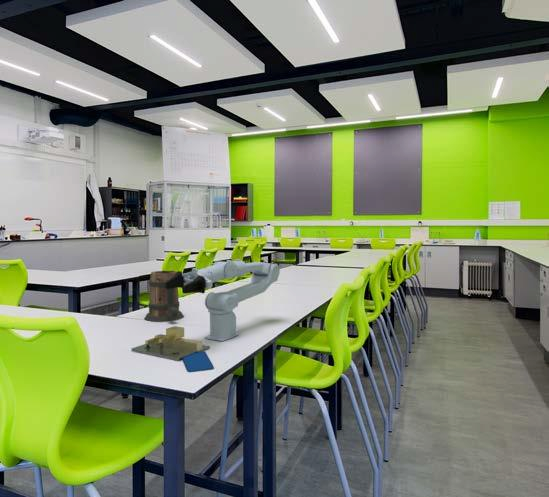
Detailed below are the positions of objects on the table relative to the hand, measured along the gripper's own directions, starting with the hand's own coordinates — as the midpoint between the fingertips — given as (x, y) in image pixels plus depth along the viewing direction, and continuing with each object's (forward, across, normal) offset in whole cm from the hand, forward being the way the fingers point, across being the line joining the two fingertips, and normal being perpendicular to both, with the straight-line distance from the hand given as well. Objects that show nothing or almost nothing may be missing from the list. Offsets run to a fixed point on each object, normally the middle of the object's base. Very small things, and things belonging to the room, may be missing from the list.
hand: (174, 287), depth 123 cm
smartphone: (+6, +14, +19) cm, 24 cm away
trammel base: (+2, -1, +20) cm, 20 cm away
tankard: (-25, -36, +28) cm, 52 cm away
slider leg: (+2, -1, +19) cm, 19 cm away
